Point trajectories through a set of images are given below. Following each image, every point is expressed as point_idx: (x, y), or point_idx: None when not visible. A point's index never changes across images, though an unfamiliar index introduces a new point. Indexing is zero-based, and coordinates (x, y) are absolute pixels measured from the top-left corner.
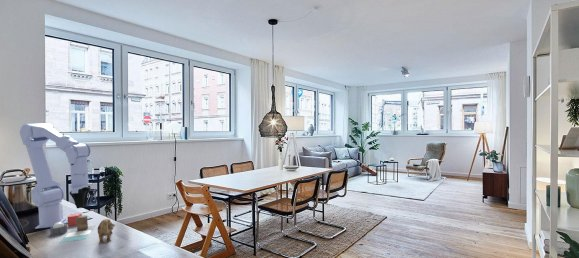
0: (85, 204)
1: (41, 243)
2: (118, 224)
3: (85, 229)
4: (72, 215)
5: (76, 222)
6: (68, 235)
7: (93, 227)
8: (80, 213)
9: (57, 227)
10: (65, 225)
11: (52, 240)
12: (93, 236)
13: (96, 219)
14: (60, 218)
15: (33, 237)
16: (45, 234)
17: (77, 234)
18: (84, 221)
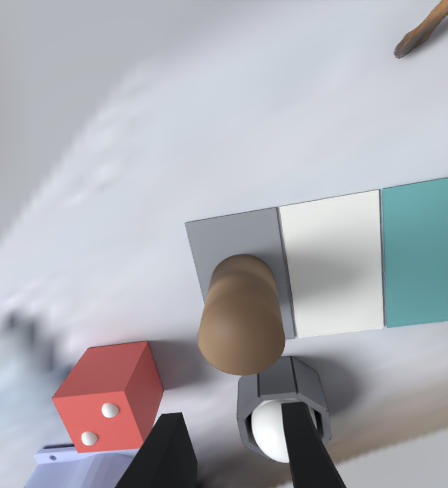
0: (178, 421)
1: (435, 404)
2: (180, 20)
3: (260, 260)
4: (111, 432)
5: (146, 366)
6: (352, 319)
7: (225, 220)
8: (66, 399)
9: (316, 424)
10: (282, 395)
11: (406, 371)
12: (444, 128)
13: (39, 277)
14: (87, 474)
15: None
16: None
17: (354, 271)
18: (268, 292)
